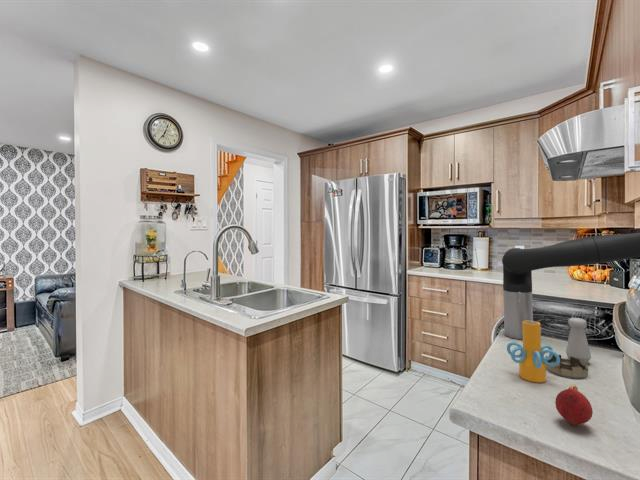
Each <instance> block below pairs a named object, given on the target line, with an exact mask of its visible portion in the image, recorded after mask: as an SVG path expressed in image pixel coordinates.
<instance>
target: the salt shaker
mask: <svg viewBox="0 0 640 480" xmlns="http://www.w3.org/2000/svg"><path fill="white" fill-rule="evenodd" d="M567 323H568V325H569V327H570V330H569V335H568V339H567V345H566V349H565V354H566V356H567V358H568V359H569V360H570V357H575V358H578V359H581V363H582V364H584V365H585V363H587V364H589V361H590V360H591V359H592V354H591V350H590V346H589V343H588V339H587V334H586V330H585V329H586V328H587V326H588V323H587V320H586V319H583V318H580V317H570V318H568V322H567Z"/></svg>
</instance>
